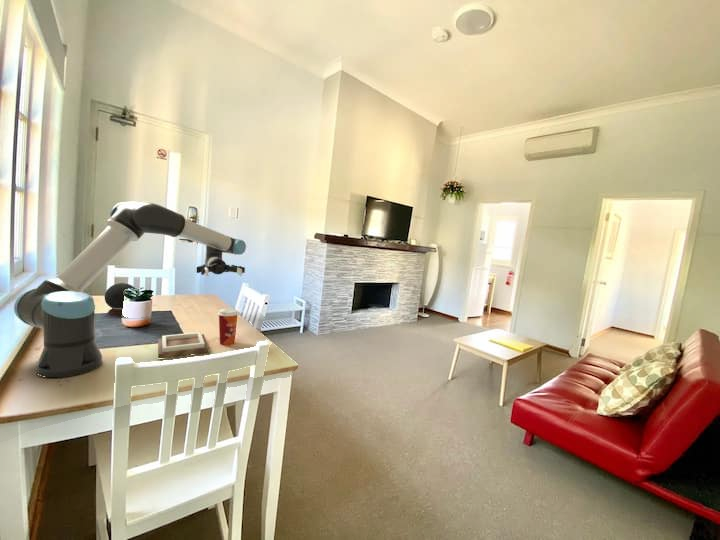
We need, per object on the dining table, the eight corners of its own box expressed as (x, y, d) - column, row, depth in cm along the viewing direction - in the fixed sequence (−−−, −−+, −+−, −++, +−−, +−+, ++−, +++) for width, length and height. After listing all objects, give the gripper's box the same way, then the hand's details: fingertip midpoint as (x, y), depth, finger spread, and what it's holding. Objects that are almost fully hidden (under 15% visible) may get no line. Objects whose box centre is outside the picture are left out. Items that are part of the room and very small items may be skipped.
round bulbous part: (130, 317, 148) (130, 286, 146) (98, 316, 145) (98, 285, 143) (143, 309, 161) (143, 281, 159) (113, 309, 158) (113, 280, 156)
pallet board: (158, 359, 107) (158, 350, 107) (158, 343, 121) (158, 335, 120) (208, 353, 116) (208, 344, 116) (203, 338, 129) (203, 330, 129)
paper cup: (229, 347, 123) (231, 313, 121) (212, 344, 124) (213, 311, 122) (241, 341, 130) (242, 309, 129) (225, 338, 132) (226, 306, 130)
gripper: (243, 273, 158) (253, 280, 141) (187, 273, 145) (191, 281, 127) (243, 258, 157) (254, 264, 140) (188, 257, 144) (192, 263, 126)
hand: (224, 272), depth 133 cm, fingers open, 13 cm apart
